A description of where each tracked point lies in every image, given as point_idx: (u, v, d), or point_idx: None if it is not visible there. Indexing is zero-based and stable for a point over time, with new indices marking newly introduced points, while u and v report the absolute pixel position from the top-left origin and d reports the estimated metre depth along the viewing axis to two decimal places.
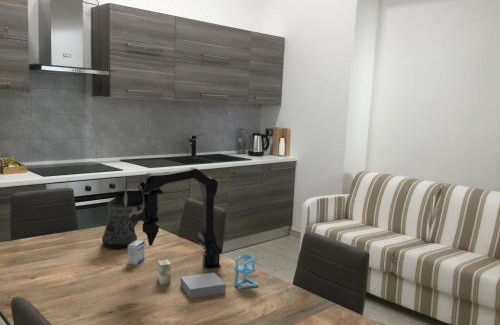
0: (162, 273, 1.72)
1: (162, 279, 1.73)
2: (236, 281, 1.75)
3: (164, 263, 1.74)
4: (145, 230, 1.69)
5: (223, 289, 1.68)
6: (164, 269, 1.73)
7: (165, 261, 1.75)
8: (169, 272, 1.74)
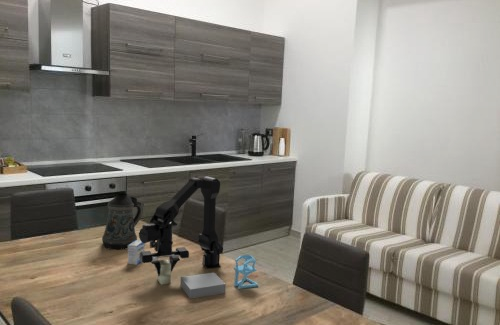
0: (162, 273, 1.72)
1: (162, 279, 1.73)
2: (236, 281, 1.75)
3: (164, 263, 1.74)
4: (139, 257, 1.72)
5: (223, 289, 1.68)
6: (164, 269, 1.73)
7: (165, 261, 1.75)
8: (169, 272, 1.74)
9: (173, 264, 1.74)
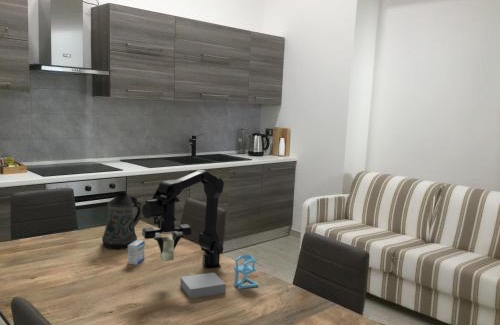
0: (165, 249, 1.71)
1: (165, 256, 1.71)
2: (236, 281, 1.75)
3: (167, 239, 1.72)
4: (142, 234, 1.71)
5: (223, 289, 1.68)
6: (167, 245, 1.71)
7: (168, 238, 1.74)
8: (172, 249, 1.72)
9: (176, 241, 1.72)
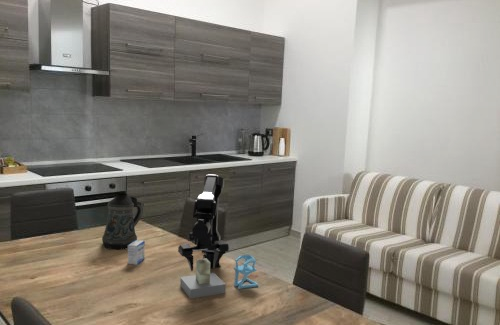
0: (201, 272, 1.66)
1: (201, 278, 1.67)
2: (236, 281, 1.75)
3: (203, 262, 1.68)
4: (178, 251, 1.66)
5: (223, 289, 1.68)
6: (204, 267, 1.67)
7: (204, 260, 1.69)
8: (208, 271, 1.68)
9: (219, 257, 1.69)
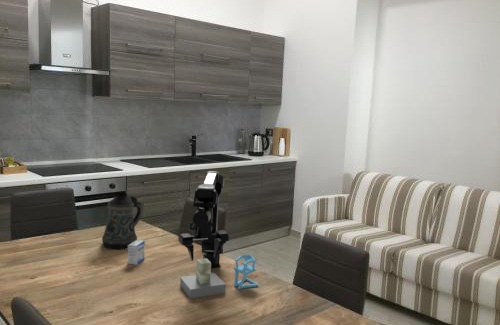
0: (202, 272, 1.66)
1: (202, 278, 1.67)
2: (236, 281, 1.75)
3: (204, 262, 1.67)
4: (178, 240, 1.65)
5: (223, 289, 1.68)
6: (204, 268, 1.66)
7: (205, 260, 1.69)
8: (209, 271, 1.68)
9: (219, 247, 1.68)
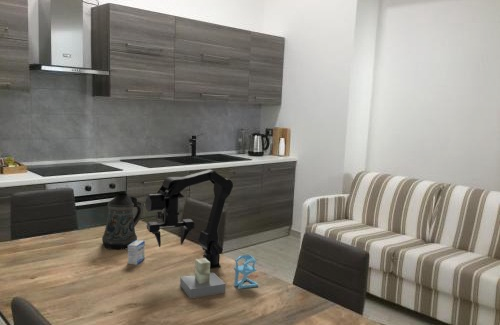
0: (201, 272, 1.67)
1: (201, 278, 1.67)
2: (236, 281, 1.75)
3: (203, 261, 1.68)
4: (147, 228, 1.78)
5: (223, 289, 1.68)
6: (204, 267, 1.67)
7: (204, 260, 1.70)
8: (208, 271, 1.68)
9: (185, 234, 1.81)
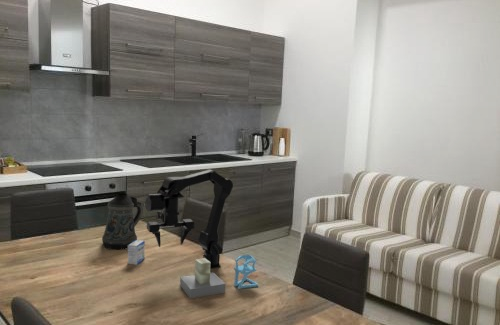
0: (202, 272, 1.66)
1: (202, 278, 1.67)
2: (236, 281, 1.75)
3: (203, 262, 1.68)
4: (147, 227, 1.78)
5: (223, 289, 1.68)
6: (204, 267, 1.67)
7: (204, 260, 1.69)
8: (208, 271, 1.68)
9: (185, 234, 1.81)
